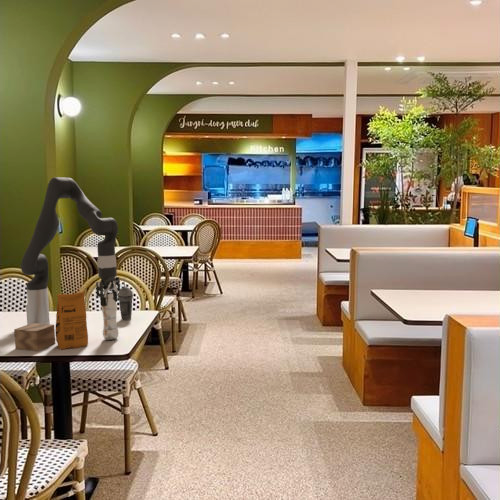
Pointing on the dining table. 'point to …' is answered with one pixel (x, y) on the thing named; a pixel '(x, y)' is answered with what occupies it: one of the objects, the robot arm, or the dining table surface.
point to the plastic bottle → (110, 318)
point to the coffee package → (71, 321)
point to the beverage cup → (125, 302)
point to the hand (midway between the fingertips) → (109, 303)
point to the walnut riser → (34, 336)
